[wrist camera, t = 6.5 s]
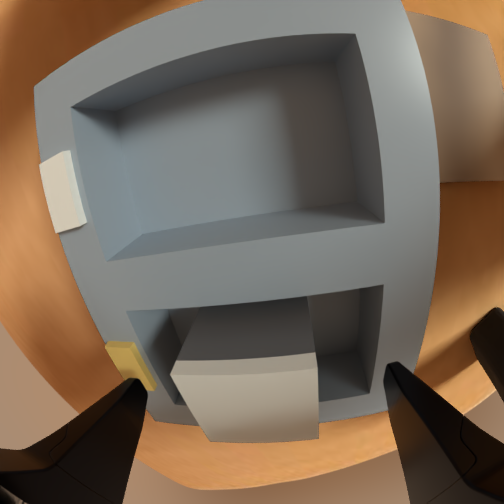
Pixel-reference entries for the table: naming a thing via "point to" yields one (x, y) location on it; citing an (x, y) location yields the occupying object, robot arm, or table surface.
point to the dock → (249, 184)
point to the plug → (251, 372)
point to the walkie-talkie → (491, 347)
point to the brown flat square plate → (462, 98)
